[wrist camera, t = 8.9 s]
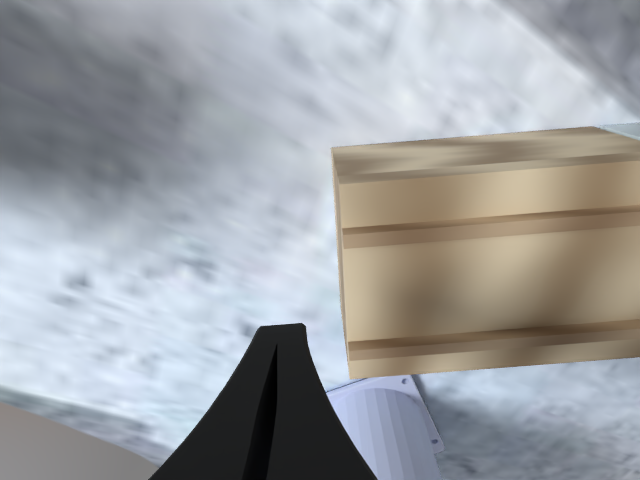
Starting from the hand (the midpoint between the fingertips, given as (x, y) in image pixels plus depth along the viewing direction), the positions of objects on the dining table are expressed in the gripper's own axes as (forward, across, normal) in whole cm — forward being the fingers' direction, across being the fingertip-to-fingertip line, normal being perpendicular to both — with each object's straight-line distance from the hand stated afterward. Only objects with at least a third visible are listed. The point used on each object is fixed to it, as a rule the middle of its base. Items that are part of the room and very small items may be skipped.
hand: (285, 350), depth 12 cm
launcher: (+10, -10, +2) cm, 15 cm away
